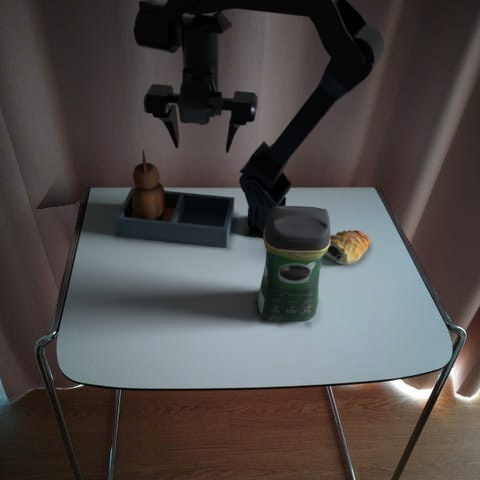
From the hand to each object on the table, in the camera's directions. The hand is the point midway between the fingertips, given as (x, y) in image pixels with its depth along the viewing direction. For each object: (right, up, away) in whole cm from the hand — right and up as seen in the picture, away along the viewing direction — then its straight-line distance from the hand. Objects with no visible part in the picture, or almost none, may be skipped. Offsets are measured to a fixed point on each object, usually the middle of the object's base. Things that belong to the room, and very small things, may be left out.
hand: (202, 149), depth 90 cm
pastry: (+26, -19, +2) cm, 32 cm away
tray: (-5, -13, +6) cm, 15 cm away
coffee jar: (+14, -29, -8) cm, 33 cm away
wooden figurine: (-10, -12, +6) cm, 17 cm away
